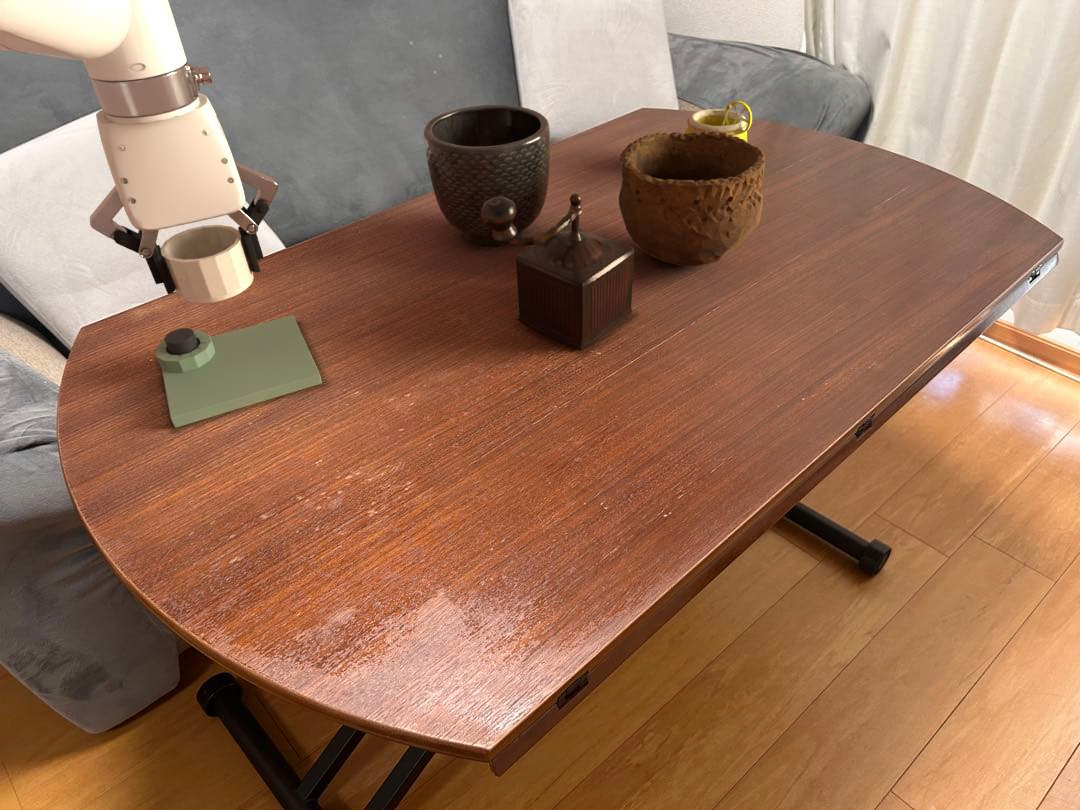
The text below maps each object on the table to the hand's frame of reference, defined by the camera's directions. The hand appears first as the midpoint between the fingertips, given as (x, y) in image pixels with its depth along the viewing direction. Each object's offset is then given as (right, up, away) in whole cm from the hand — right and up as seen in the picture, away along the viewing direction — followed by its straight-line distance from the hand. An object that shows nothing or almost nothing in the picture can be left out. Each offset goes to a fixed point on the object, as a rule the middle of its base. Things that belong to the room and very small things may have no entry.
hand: (212, 275), depth 74 cm
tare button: (-9, -6, +14) cm, 18 cm away
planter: (+25, +13, +39) cm, 48 cm away
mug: (+62, +28, +55) cm, 87 cm away
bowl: (+52, +8, +31) cm, 61 cm away
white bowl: (0, -1, +1) cm, 1 cm away
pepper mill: (+35, -3, +19) cm, 40 cm away
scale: (-3, -9, +14) cm, 17 cm away
